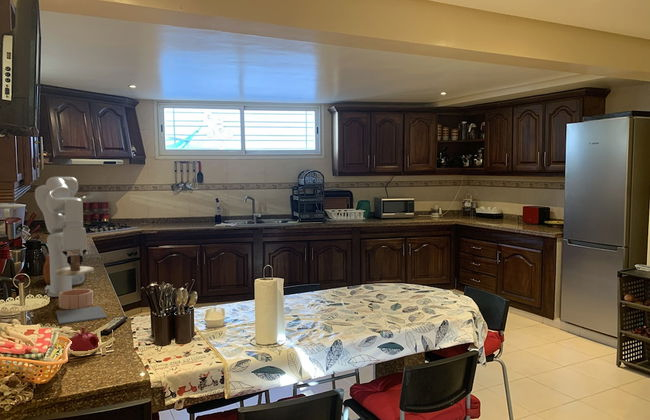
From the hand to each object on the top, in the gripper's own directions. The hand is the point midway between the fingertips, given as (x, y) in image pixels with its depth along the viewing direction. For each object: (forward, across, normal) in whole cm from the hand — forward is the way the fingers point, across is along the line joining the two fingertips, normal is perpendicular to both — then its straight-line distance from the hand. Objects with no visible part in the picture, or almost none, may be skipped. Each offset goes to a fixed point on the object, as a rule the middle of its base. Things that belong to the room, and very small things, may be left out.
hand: (74, 263), depth 228 cm
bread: (+21, -2, +63) cm, 66 cm away
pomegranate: (+18, -4, -71) cm, 74 cm away
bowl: (+19, 0, -1) cm, 19 cm away
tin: (+20, +2, +44) cm, 49 cm away
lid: (+4, 0, 0) cm, 4 cm away
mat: (+19, 0, -21) cm, 28 cm away
